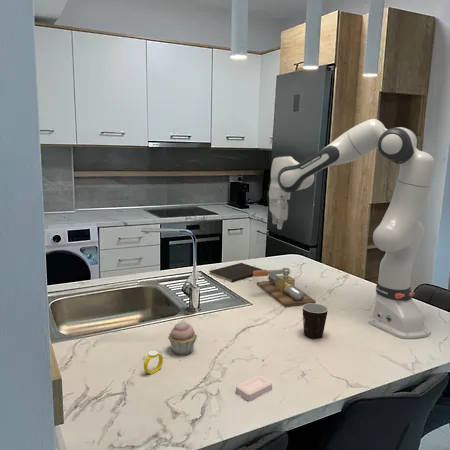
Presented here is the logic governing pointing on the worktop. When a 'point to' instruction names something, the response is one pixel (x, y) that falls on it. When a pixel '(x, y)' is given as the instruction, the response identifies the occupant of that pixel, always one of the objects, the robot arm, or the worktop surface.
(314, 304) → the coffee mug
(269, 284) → the mount board
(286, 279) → the valve body
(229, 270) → the hardcover book
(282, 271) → the valve lever
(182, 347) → the cupcake
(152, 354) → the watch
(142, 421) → the worktop surface
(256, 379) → the soap bar
